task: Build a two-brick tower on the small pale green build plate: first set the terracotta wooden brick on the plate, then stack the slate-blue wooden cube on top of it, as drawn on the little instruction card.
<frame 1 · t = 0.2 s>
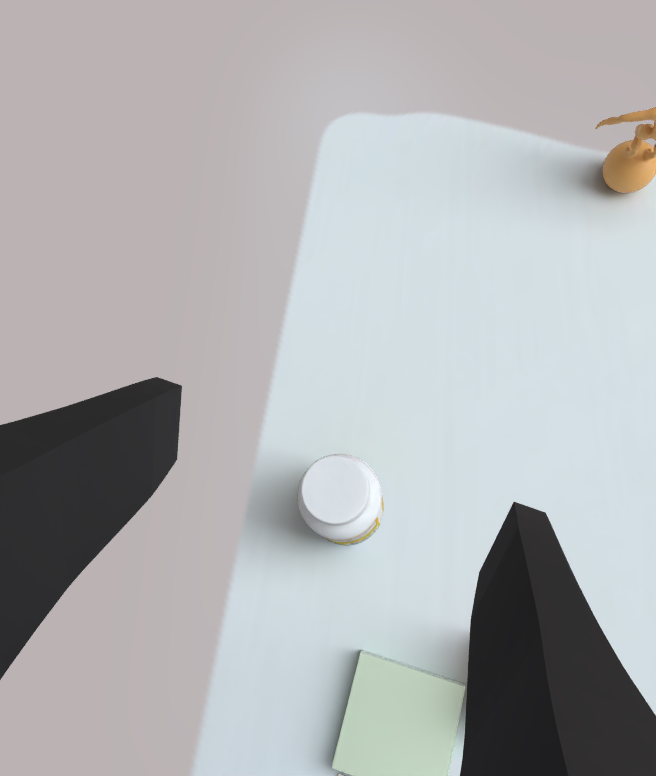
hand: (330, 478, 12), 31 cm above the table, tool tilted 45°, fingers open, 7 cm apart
figurine: (618, 194, 48), on the table
supplement bottle: (347, 507, 42), on the table
build plate: (398, 722, 37), on the table
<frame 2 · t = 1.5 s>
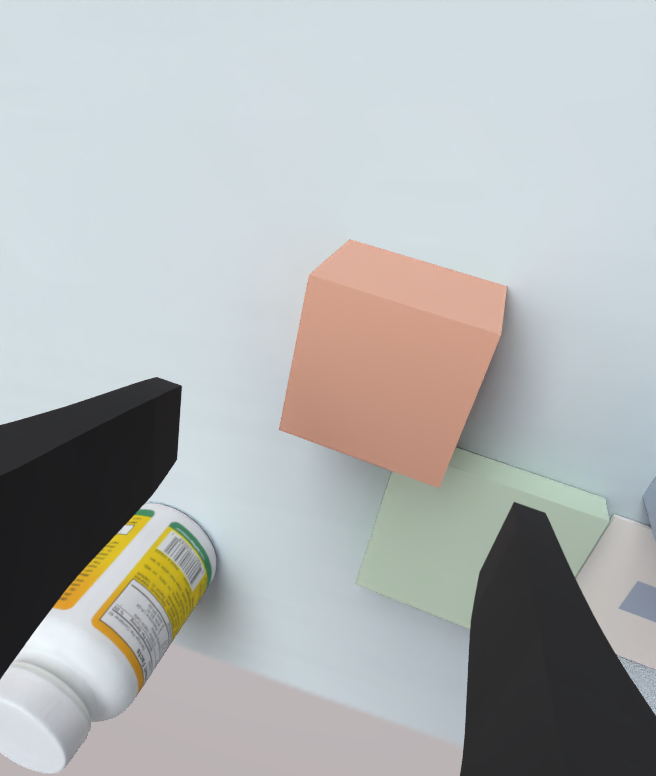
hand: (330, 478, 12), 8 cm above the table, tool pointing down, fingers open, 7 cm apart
terracotta brick: (405, 332, 19), on the table
supplement bottle: (171, 540, 27), on the table
build plate: (470, 534, 21), on the table
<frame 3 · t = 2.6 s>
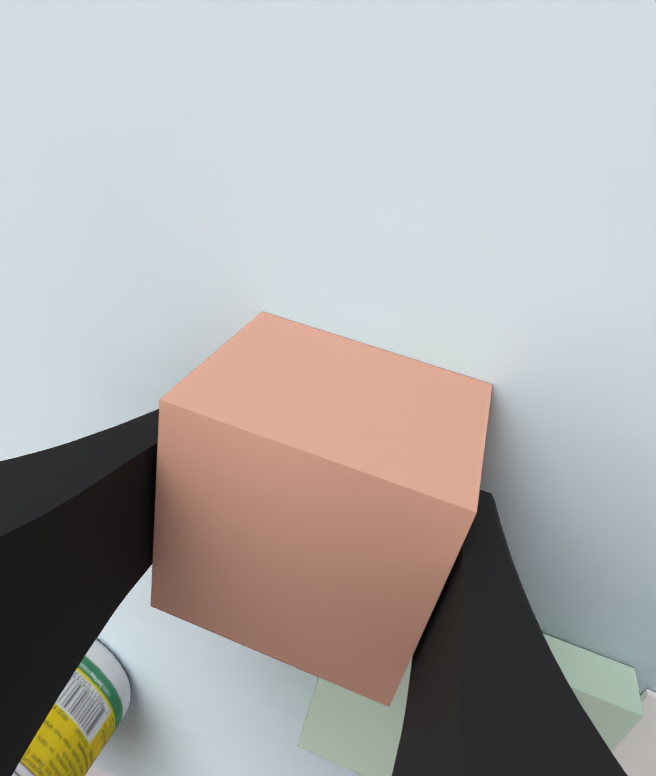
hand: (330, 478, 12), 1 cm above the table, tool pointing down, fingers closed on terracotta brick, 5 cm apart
terracotta brick: (348, 442, 13), on the table, touching gripper
supplement bottle: (77, 658, 22), on the table
build plate: (448, 692, 16), on the table
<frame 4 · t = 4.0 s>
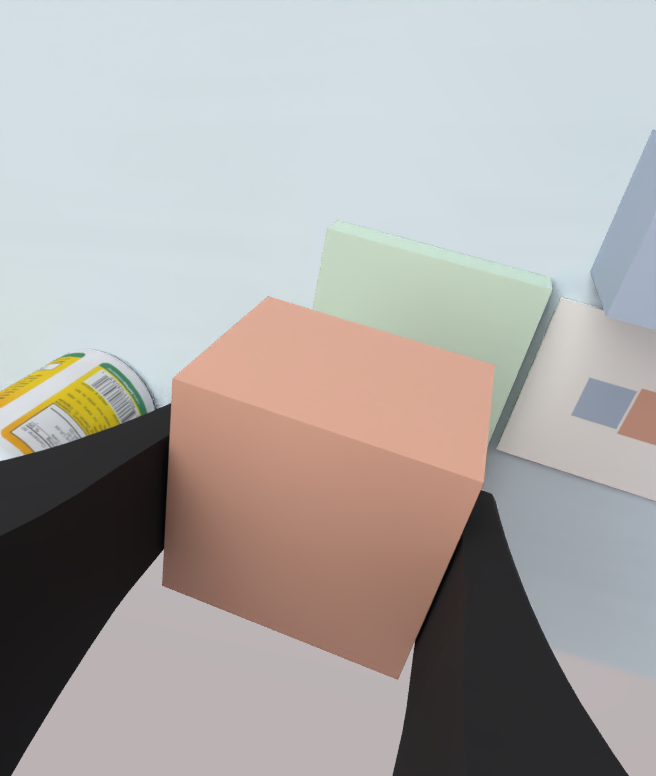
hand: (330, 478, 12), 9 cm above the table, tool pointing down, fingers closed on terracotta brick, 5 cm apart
terracotta brick: (353, 424, 13), point 7 cm above the table, touching gripper
supplement bottle: (109, 397, 26), on the table
instruction card: (616, 405, 19), on the table
build plate: (412, 344, 20), on the table
when the fingers open (4 cm above the table, at t = 5.7 s): terracotta brick stays where it is, resting on build plate.
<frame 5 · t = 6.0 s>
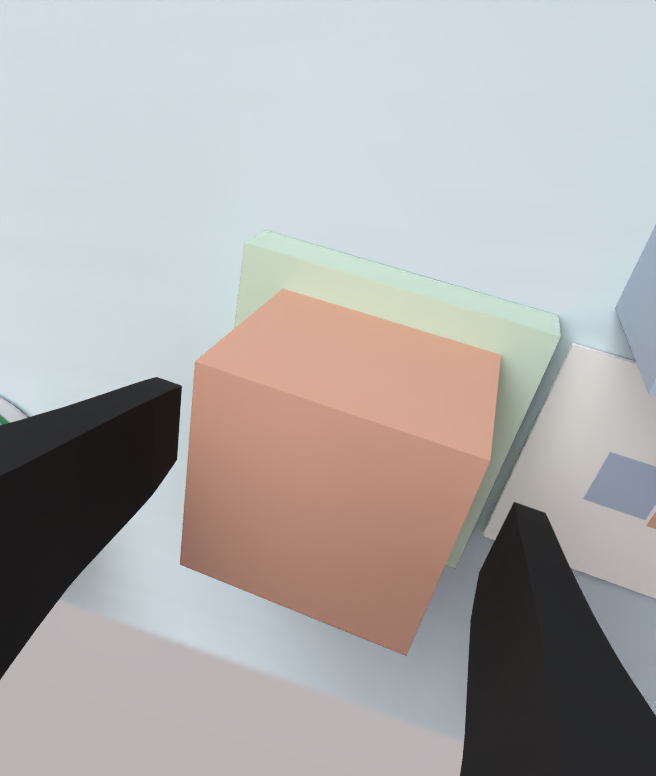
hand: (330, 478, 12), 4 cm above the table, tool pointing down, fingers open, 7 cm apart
terracotta brick: (363, 413, 14), point 1 cm above the table, touching build plate
supplement bottle: (3, 445, 21), on the table
instruction card: (646, 488, 14), on the table
build plate: (370, 397, 15), on the table
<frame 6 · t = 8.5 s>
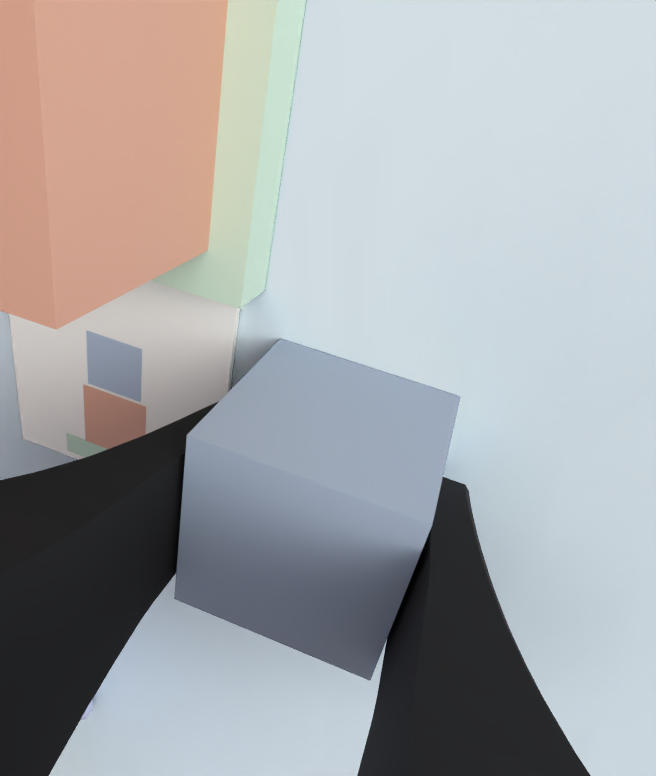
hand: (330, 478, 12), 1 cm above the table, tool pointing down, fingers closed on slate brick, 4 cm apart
terracotta brick: (86, 68, 10), point 1 cm above the table, touching build plate
instruction card: (118, 379, 14), on the table
build plate: (117, 63, 11), on the table
slate brick: (348, 441, 13), on the table, touching gripper
when the fingers open (8 cm above the table, at t = 11.2 s): slate brick stays where it is, resting on terracotta brick.
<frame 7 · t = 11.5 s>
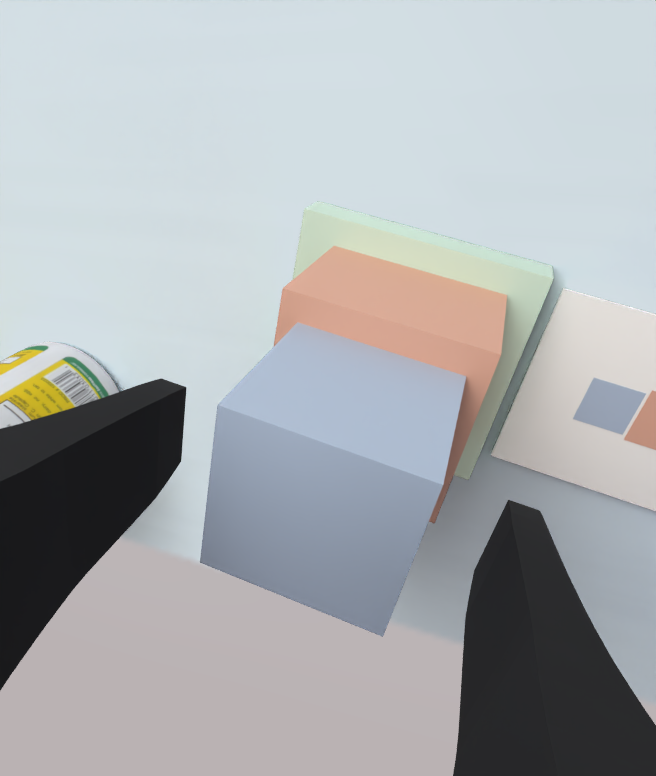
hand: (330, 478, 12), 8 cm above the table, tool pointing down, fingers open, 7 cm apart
terracotta brick: (396, 348, 17), point 1 cm above the table, touching build plate, slate brick
supplement bottle: (76, 394, 24), on the table
instruction card: (622, 408, 17), on the table
build plate: (400, 339, 18), on the table
slate brick: (360, 420, 14), point 5 cm above the table, touching terracotta brick
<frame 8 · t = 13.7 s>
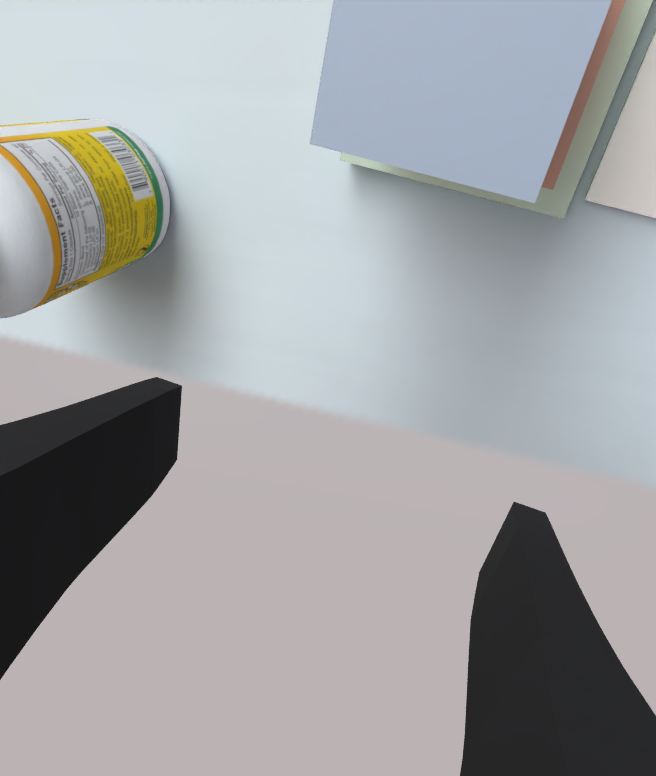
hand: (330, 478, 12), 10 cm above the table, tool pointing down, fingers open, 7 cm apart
terracotta brick: (491, 48, 15), point 1 cm above the table, touching build plate, slate brick
supplement bottle: (116, 192, 22), on the table
build plate: (488, 59, 16), on the table
slate brick: (475, 50, 12), point 5 cm above the table, touching terracotta brick
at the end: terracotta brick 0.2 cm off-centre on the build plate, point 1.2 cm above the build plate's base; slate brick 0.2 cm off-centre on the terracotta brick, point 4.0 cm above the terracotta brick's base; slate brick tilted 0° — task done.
